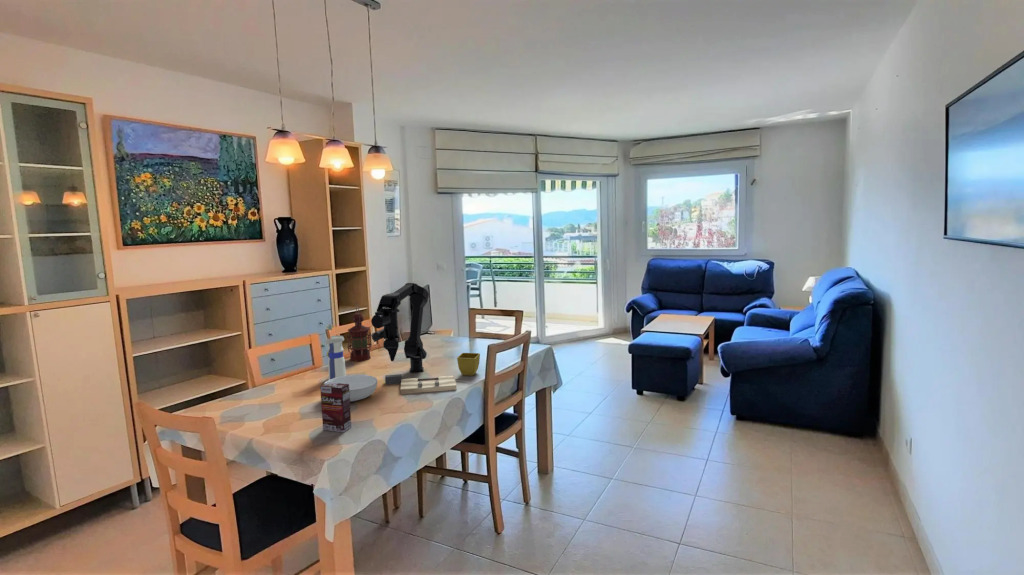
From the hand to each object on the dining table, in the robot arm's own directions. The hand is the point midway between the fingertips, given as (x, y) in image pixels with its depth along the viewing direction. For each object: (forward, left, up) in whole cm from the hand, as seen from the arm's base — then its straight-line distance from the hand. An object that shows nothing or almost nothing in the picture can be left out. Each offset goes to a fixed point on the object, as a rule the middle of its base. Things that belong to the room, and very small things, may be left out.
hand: (392, 358), depth 227 cm
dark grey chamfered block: (0, 0, -11) cm, 11 cm away
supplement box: (+48, -17, -11) cm, 52 cm away
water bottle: (-13, -26, -11) cm, 31 cm away
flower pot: (-5, +34, -11) cm, 36 cm away
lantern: (-46, -19, -11) cm, 51 cm away
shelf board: (+9, +15, -11) cm, 21 cm away
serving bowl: (+16, -16, -11) cm, 25 cm away
